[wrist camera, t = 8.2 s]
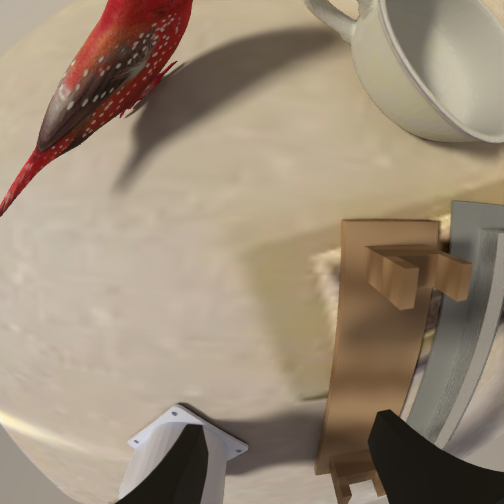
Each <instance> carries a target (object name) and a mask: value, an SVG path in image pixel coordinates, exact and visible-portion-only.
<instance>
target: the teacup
mask: <svg viewBox="0 0 504 504" xmlns="http://www.w3.org/2000/svg"><path fill="white" fill-rule="evenodd" d="M303 1H304V3H305V5H306V6H307V8H308V9H309V10H310V11H311V12H312V13H313V14H314V15H315V16H316V17H317V18H318V19H320V20H321V21H322V22H324V23H325V24H326V25H328V26H329V27H331V28H332V29H334V30H335V31H337V32H338V33H339V34H340V36H341V38H342V39H343V40H344V41H346V42H347V43H349V44H350V45H351V51H352V58H353V63H354V67H355V70H356V72H357V75H358V78H359V80H360V82H361V84H362V86H363V88H364V89H365V91H366V93H367V94H368V95H369V97H370V98H371V100H372V101H373V102H374V104H375V105H376V106H377V107H378V108H379V109H380V110H381V111H382V113H384V114H385V115H386V116H387V117H388V118H389V119H390V120H391V121H393V122H394V123H395V124H397V125H398V126H399V127H401V128H402V129H404V130H406V131H408V132H410V133H412V134H414V135H416V136H419V137H421V138H425V139H428V140H433V141H440V142H475V141H482V142H486V143H497V144H499V143H503V142H504V27H503V26H502V24H501V23H500V21H499V20H498V18H497V17H496V16H495V15H494V13H493V12H492V11H491V10H490V9H489V8H488V7H487V5H486V4H485V3H484V2H483V1H482V0H357V1H358V4H359V8H358V11H359V14H360V15H359V17H358V18H357V20H353V19H352V18H350V17H349V16H347V15H345V14H344V13H343V12H341V11H340V10H338V9H337V8H336V7H334V6H333V5H332V4H331V3H330V2H329V1H328V0H303Z"/></svg>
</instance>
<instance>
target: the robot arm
mask: <svg viewBox="0 0 504 504" xmlns="http://www.w3.org/2000/svg"><path fill="white" fill-rule="evenodd" d="M175 412H177V413H175ZM367 442H368V446H369V450H370V454H371V458H372V461H373V464H374V466H375V468H376V471H377V473H378V476H379V478H380V481H381V483H382V485H383V488H384V490H385V493H386V495H387V498H388V501H389V504H504V472H499V471H493V470H489V469H485V468H482V467H479V466H475V465H473V464H470V463H467V462H465V461H463V460H460V459H458V458H456V457H454V456H452V455H450V454H449V453H447V452H445V451H443V450H442V449H440V448H439V447H437V446H436V445H434V444H433V443H431V442H430V441H428V440H427V439H425V438H424V437H423V436H422V435H420V434H419V433H418V432H416V431H415V430H414V429H413V428H412V427H410V426H409V425H408V424H407V423H406V422H404V421H403V420H402V419H401V418H400V417H399V416H397V415H396V414H395V413H394V412H393V411H392V410H390V409H388V410H383V411H379V412H377V414H376V417H375V421H374V423H373V426H372V429H371V432H370V435H369V438H368V440H367ZM128 445H129V446H131V447H132V448H134V449H135V450H134V453H133V455H132V458H131V460H130V462H129V465H128V467H127V470H126V472H125V475H124V478H123V480H122V483H121V485H120V488H119V499H120V500H114V501H110V502H107V503H106V504H223V497H224V486H225V474H226V463H227V461H229V460H231V459H233V458H235V457H236V456H238V455H240V454H242V453H244V452H245V451H247V450H248V445H247V444H245V443H243V442H242V441H240V440H238V439H236V438H234V437H232V436H231V435H229V434H227V433H225V432H223V431H222V430H220V429H218V428H217V427H215V426H213V425H212V424H210V423H208V422H207V421H205V420H203V419H202V418H200V417H199V416H197V415H195V414H194V413H192V412H191V411H189V410H188V409H186V408H185V407H183V406H182V405H179V404H175V405H174V406H172V407H171V408H170V409H169V410H167V411H166V412H165V413H163V414H162V415H161V416H160V417H158V418H157V419H156V420H154V421H153V422H152V423H151V424H149V425H148V426H147V427H145V428H144V429H143V430H141V431H140V432H139V433H137V434H136V435H135V436H133V437H132V438H131V439H129V440H128Z"/></svg>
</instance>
